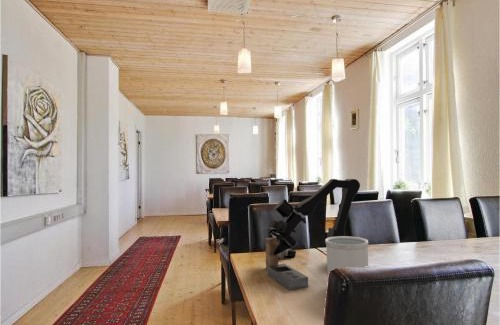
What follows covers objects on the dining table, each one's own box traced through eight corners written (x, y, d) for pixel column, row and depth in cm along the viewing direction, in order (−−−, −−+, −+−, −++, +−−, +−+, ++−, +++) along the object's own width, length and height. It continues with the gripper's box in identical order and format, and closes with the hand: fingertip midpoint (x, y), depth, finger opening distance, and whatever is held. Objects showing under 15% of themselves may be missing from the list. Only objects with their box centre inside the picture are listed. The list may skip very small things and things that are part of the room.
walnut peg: (274, 266, 136) (273, 237, 136) (278, 269, 132) (277, 239, 133) (266, 267, 134) (265, 238, 135) (270, 270, 131) (269, 240, 131)
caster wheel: (295, 259, 155) (292, 262, 145) (274, 253, 158) (270, 255, 149) (298, 246, 155) (295, 248, 146) (277, 240, 159) (273, 242, 149)
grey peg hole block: (267, 274, 125) (267, 265, 125) (284, 272, 128) (284, 263, 128) (289, 290, 108) (289, 280, 108) (308, 286, 111) (308, 276, 111)
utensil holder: (319, 284, 114) (317, 237, 114) (353, 279, 118) (352, 234, 118) (341, 300, 99) (339, 246, 100) (379, 294, 103) (377, 242, 104)
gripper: (270, 210, 144) (249, 236, 140) (289, 215, 127) (266, 244, 122) (285, 225, 147) (264, 251, 142) (306, 232, 130) (283, 262, 125)
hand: (269, 251), depth 133 cm, fingers open, 9 cm apart
